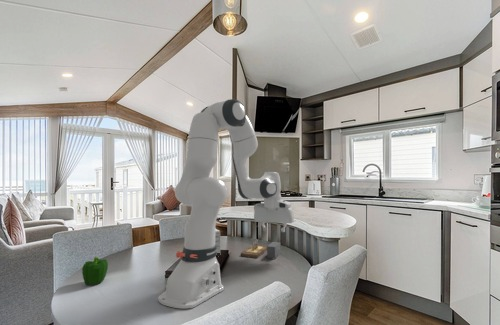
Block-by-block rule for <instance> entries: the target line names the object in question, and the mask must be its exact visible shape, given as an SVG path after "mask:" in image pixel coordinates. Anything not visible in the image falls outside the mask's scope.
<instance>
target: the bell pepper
mask: <svg viewBox="0 0 500 325" xmlns="http://www.w3.org/2000/svg"><path fill="white" fill-rule="evenodd" d="M108 263H109V262H108V260H107V259H106V258H104V259H102V258H101V259H100V258H99V257H98V256H95V257H94V259H93V261H90V260H87V261H86V262H85V263H84V264H83V266H82V268H81V270H82V279H83V282H84V284H85V285H89V286H90V285H91V286H95V285H96V286H97V285H98V284H101V283H102V282H103V281H104V280H105V278H106V276H107V272H108V266H109V264H108Z"/></svg>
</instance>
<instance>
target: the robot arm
mask: <svg viewBox="0 0 500 325" xmlns="http://www.w3.org/2000/svg"><path fill="white" fill-rule="evenodd" d="M246 112H247V111H246V108H245V106H244V104H243V103H242V102H241V101H240V100H239V99H235V98H231V99H230V98H229V99H227V100H225V101H220V102H215V103H213V104H211V105H208V106H206V107H204V108H203V109H202V110H200V112H198V113H195V115H194V116H193V117H192V119H191V123H190V128H189V132H188V141H187V142H188V143H187V152H186V162H185V166H184V169H183V172H182V173H181V178H180V180H179V182H178V183H177V184H176V185H175V189H174V196H175V198H176V200H177V201H178V202H180V204H182V205H183V206H187V207H191V210H190V215H189V218H188V220H187V221H186V222H185V224H184V228H183V229H184V231H183V232H184V246H183V247H182V251H179V250H178V251H177V252H176V253H175V254H176V255H175V257H176V258H178V259H179V258H180V260H179V262H178V264H177V265H176V266H175V268H174V270H172V272H171V274H170V275H169V276H168V278H167V280H166V287H165V290H164V291H163V293H161V294H160V295H159V296H158V297H157V301H158V302H159V303H160V304H161V305H163V306H167V307H171V308H174V309H175V308H176V309H183V310H185V309H193V308H195V307H197V306H199V305H200V304H203V303H204V302H205V301H207V300H208V299H210V298H212V297H214V296H216V295H218V294H219V293H220V292H223V291H224V289H225V287H224V285H223V284H222V280H221V269H220V263H219V261H218V259H217V257H216V255H217V245H216V244H215V229H216V225H217V219H218V215H219V211H220V210H221V208H222V206H223V205H224V204H225V202H226V201H227V199H228V194H229V192H228V187H227V185H226V183H225V182H224V181H223V180H221V179H218V178H215V177H211V176H210V173H211V172H212V170H213V168H214V167H215V166H216V164H217V162H218V161H217V160H218V148H219V147H218V145H219V131H220V130H227V131H228V132H229V135H230V136H229V137H230V139H231V142H232V146H233V152H232V157H231V158H232V163H233V167H234V171H235V177H236V181H237V190H238V194H239V196H240V197H241V198H242V199H245V200H250V199H256V200H257V199H258V200H259V199H263V202H262V203H256V204H254V205H253V211H254V212H253V220H254V222H256V223H257V222H258V223H260V225H261V227H262V231H263V232H267V231H268V227H267V226H266V225H265V224H266V223H274V224H275V223H277V224H280V223H281V224H282V226H283V227H281V228H280V230H281V231H280V232H281V233H285V232H286V228H287V224H292V223H294V221H295V216H294V211H293V208H292V207H291V206H292V203H291V202H290V201H286V200H285V199H282V195H281V190H282V183H281V177H280V174H279V172H277V171H272V170H271V171H270V170H269V171H267V170H266V171H264V173H263V175H262V176H261V177H260V178H251V177H250V176H249V174H248V173H249V172H248V169H247V164H246V161H247V159H248V158H250V157H252V156H253V155H254V154H255V152H256V151H257V149H258V147H259V142H258V138H257V135H256V134H257V133H256V132H255V129H254V127H253V124H252V122H251V121H250V119H249V117H248V115H247V113H246Z"/></svg>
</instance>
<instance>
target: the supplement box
mask: <svg viewBox="0 0 500 325" xmlns="http://www.w3.org/2000/svg"><path fill="white" fill-rule="evenodd" d="M215 244H216V245H217V253H220V254H221V231H220V230H219V229H217V228H215Z"/></svg>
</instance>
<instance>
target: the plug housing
mask: <svg viewBox="0 0 500 325" xmlns="http://www.w3.org/2000/svg"><path fill="white" fill-rule="evenodd" d="M266 246H267V251H266V258H267V259H274V260H276V259H277V258H278V257H279V256H280V255H281V254H282V252H281V242H278V241H272V242H271V243H269V244H268V245H266Z"/></svg>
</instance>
